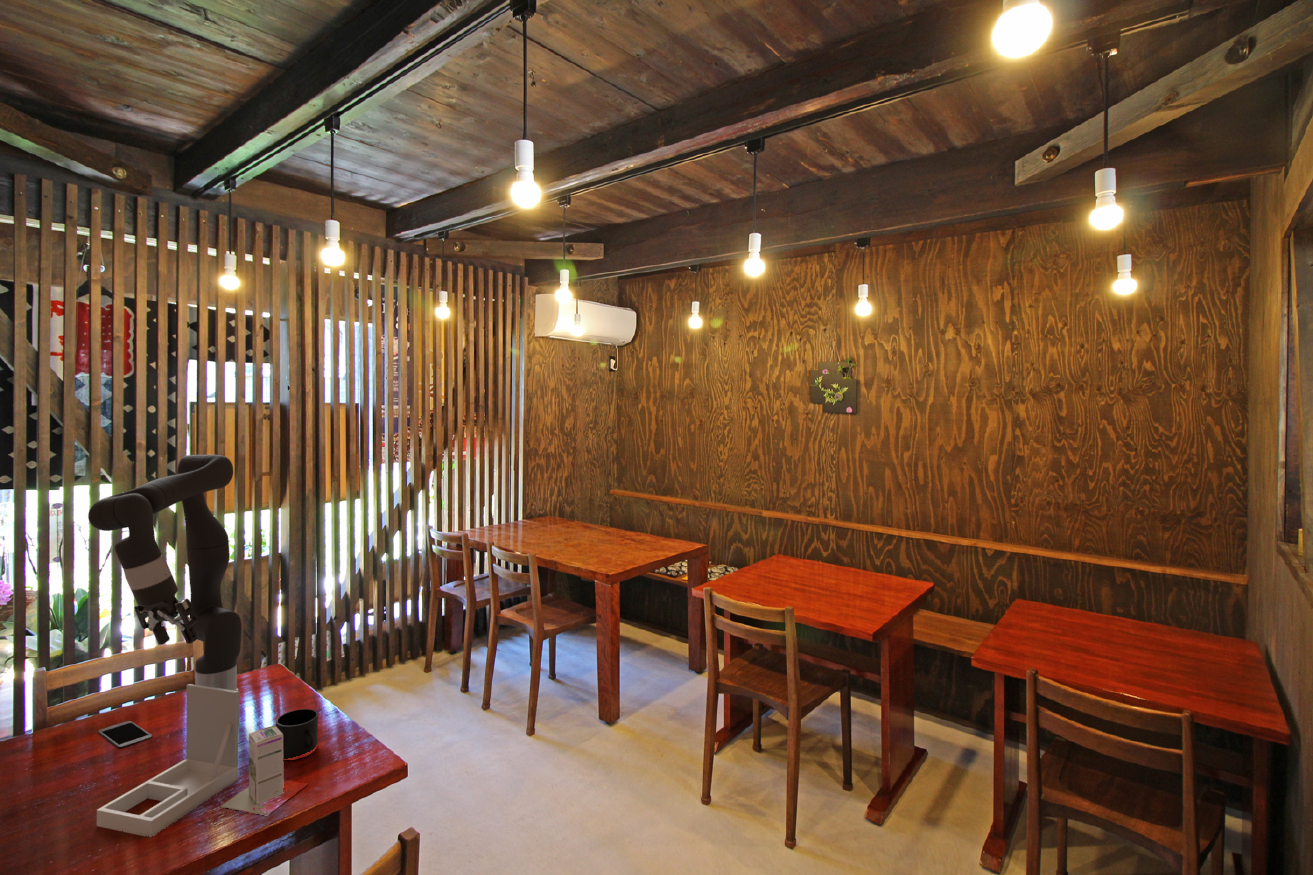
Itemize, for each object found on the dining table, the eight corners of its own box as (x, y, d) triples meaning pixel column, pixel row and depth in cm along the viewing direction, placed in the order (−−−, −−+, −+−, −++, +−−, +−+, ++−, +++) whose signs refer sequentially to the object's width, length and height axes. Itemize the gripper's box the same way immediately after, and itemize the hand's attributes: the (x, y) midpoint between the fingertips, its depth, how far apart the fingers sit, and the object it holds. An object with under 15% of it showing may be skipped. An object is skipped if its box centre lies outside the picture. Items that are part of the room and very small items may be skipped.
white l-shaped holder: (189, 770, 152) (189, 683, 151) (238, 779, 149) (238, 691, 148) (96, 825, 132) (96, 725, 131) (151, 837, 129) (151, 734, 128)
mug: (293, 769, 154) (294, 733, 154) (268, 753, 161) (268, 719, 160) (330, 752, 162) (331, 717, 162) (305, 738, 169) (305, 705, 168)
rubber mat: (264, 776, 151) (264, 775, 151) (308, 784, 148) (308, 783, 148) (220, 807, 139) (220, 805, 139) (267, 816, 137) (267, 814, 136)
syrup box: (284, 794, 144) (285, 732, 143) (255, 806, 139) (255, 742, 139) (276, 784, 147) (276, 723, 147) (247, 795, 143) (247, 732, 142)
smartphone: (130, 722, 174) (130, 718, 174) (154, 738, 166) (154, 735, 166) (96, 733, 168) (96, 730, 168) (119, 751, 160) (119, 747, 160)
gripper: (190, 569, 142) (216, 631, 146) (143, 572, 145) (170, 633, 150) (158, 587, 135) (187, 651, 139) (110, 589, 139) (139, 652, 143)
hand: (178, 642), depth 144 cm, fingers open, 8 cm apart
